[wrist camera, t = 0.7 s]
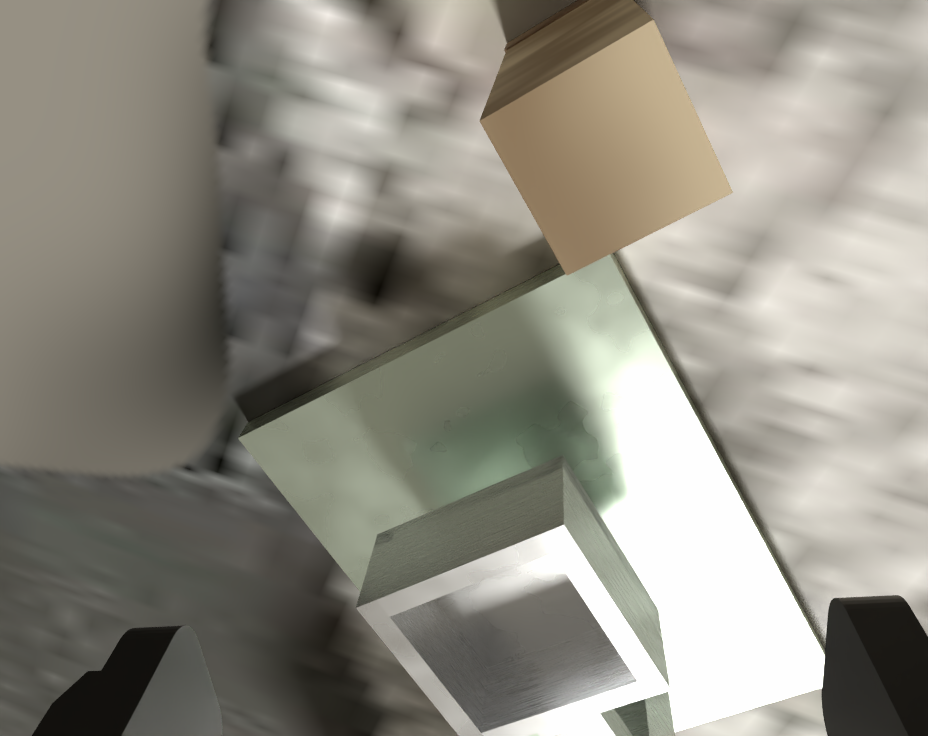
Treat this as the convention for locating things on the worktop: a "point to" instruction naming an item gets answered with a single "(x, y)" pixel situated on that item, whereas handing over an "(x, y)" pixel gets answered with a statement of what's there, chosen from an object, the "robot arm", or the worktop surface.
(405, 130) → the worktop surface
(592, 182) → the maple rail
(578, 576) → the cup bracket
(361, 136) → the worktop surface
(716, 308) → the worktop surface
